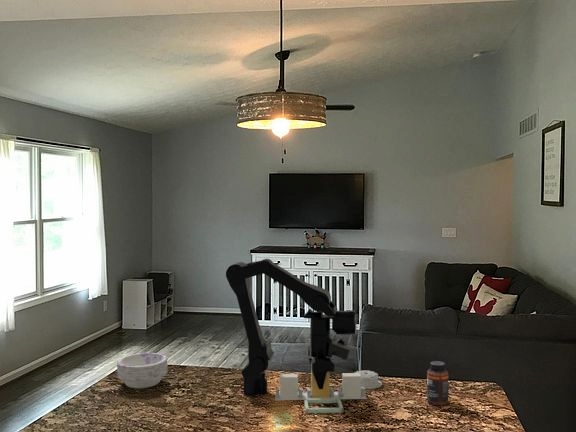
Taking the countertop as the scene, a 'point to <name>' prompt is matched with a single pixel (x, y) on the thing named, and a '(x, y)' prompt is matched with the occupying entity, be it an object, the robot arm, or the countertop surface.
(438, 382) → the supplement bottle
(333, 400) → the tray
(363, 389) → the block
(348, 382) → the block
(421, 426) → the countertop surface
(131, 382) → the paper bowls
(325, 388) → the block
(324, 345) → the robot arm
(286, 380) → the block
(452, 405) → the countertop surface
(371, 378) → the mechanical component
